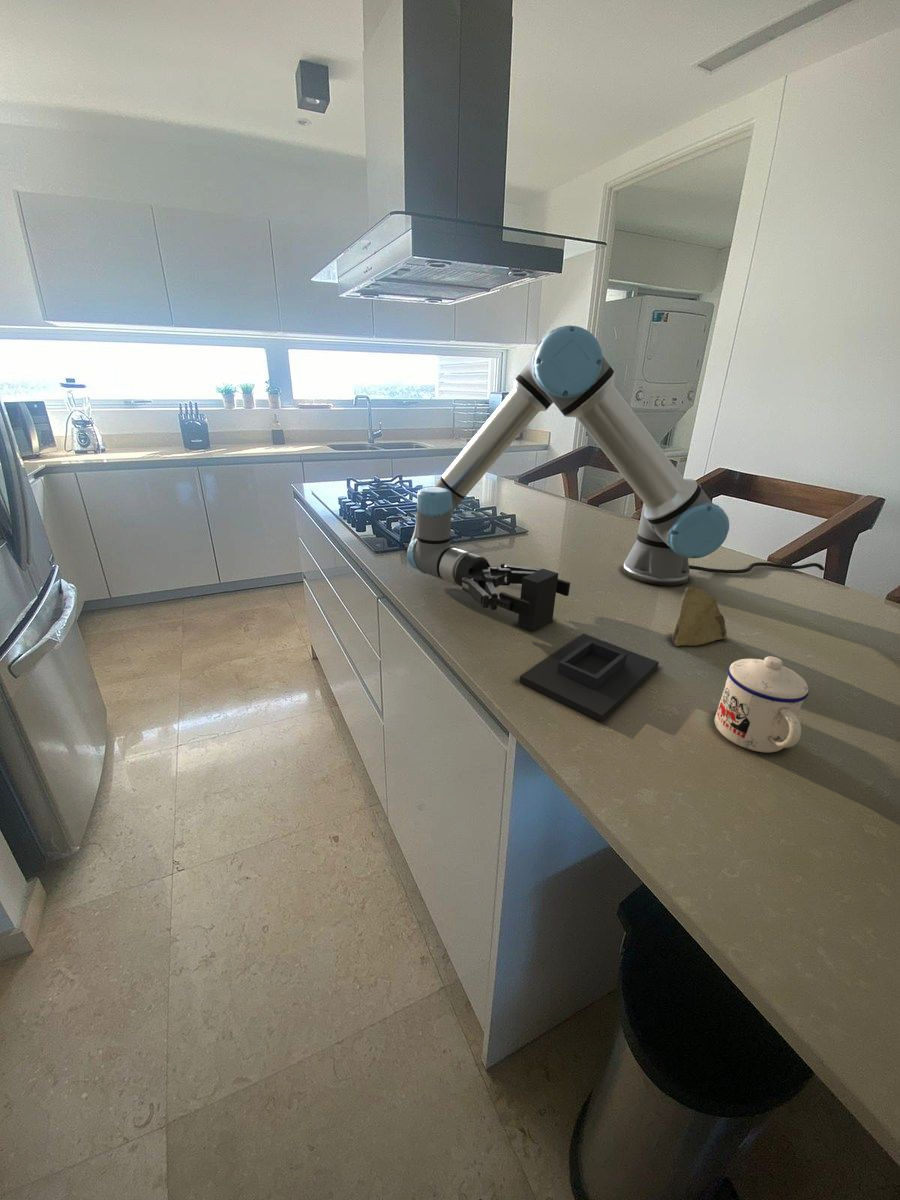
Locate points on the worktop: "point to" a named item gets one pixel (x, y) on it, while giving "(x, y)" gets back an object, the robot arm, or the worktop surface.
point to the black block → (538, 598)
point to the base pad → (590, 675)
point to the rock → (698, 619)
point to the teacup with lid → (761, 705)
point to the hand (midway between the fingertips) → (550, 599)
